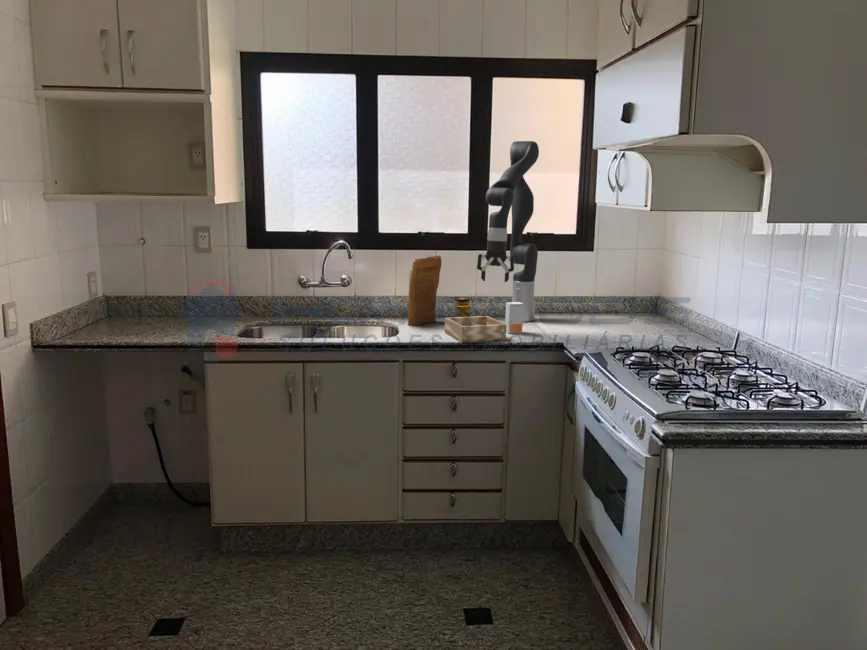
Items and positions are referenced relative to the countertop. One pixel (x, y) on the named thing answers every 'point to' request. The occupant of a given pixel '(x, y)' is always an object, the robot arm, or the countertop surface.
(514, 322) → the skincare box
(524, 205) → the robot arm
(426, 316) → the pancake mix bag
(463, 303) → the condiment
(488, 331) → the box
